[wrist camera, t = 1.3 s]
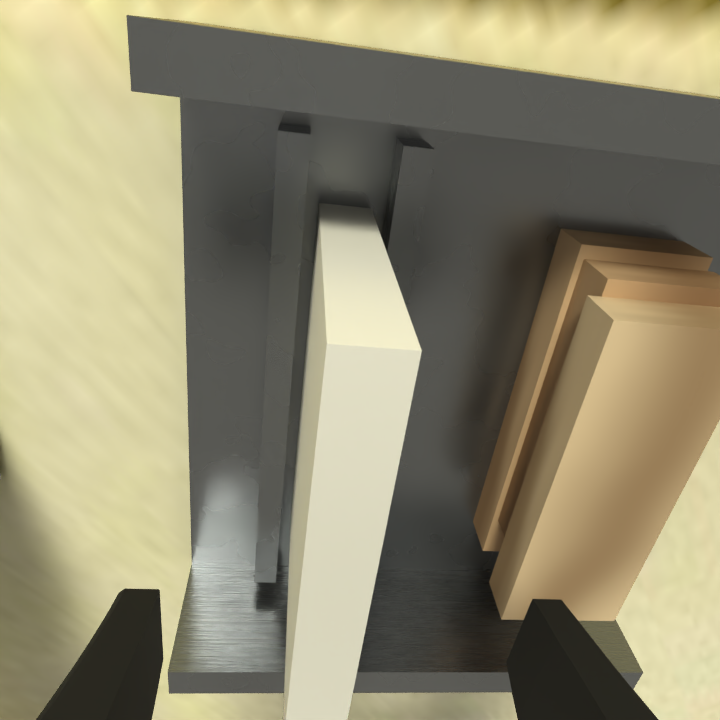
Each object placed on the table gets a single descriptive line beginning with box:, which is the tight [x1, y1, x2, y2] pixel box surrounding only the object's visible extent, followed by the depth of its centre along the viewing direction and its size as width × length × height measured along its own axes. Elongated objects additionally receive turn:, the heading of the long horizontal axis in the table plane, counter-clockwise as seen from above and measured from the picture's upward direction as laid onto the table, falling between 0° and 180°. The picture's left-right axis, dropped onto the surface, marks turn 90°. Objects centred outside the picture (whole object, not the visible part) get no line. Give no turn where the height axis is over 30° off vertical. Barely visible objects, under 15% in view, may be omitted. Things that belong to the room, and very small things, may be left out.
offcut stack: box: [473, 229, 720, 621], centre depth 18 cm, size 4×12×4 cm, turn 173°
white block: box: [283, 203, 422, 720], centre depth 16 cm, size 2×12×8 cm, turn 173°
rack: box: [127, 15, 720, 693], centre depth 18 cm, size 17×20×6 cm
